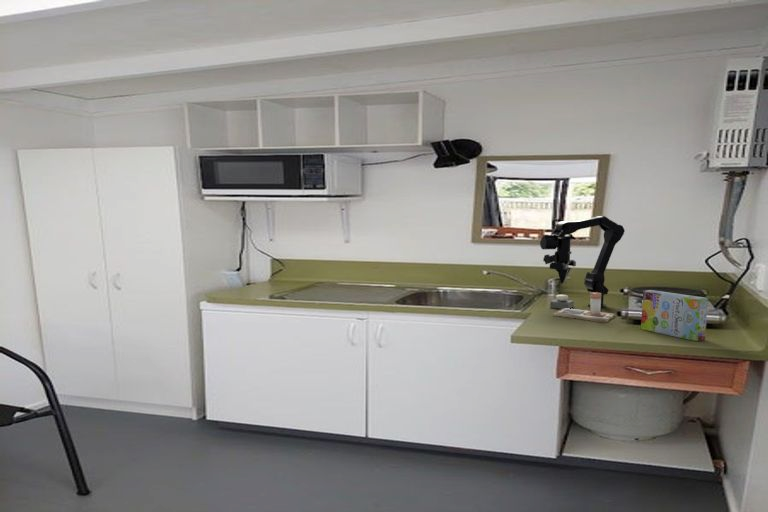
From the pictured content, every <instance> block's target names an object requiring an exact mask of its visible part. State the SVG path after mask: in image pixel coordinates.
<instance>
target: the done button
mask: <svg viewBox="0 0 768 512" xmlns="http://www.w3.org/2000/svg"><path fill="white" fill-rule="evenodd" d="M555 299H556V300H559V301H561V302H564V301H567V300H569V296H568V295H567V294H556V298H555Z"/></svg>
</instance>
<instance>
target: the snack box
mask: <svg viewBox="0 0 768 512" xmlns="http://www.w3.org/2000/svg"><path fill="white" fill-rule="evenodd" d="M642 294H643V300H642V312H641V321H640V323H641V324H640V329H641V330H643V331H649V332H653V333H657V334H662V335H665V336H671V337H675V338H679V339H680V338H681V339H684V340H687V341H688V340H689V341H693V342H700V341H701V340H702V341H705V340H706V332H707V331H706V330H707V317H708V316H707V315H708V303H709V301H708V300H709V297H703V296H697V295H696V296H695V295H689V294H682V293H675V292H668V291H661V290H653V289H648V290H643V291H642Z"/></svg>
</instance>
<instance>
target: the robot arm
mask: <svg viewBox="0 0 768 512" xmlns="http://www.w3.org/2000/svg"><path fill="white" fill-rule="evenodd" d="M597 226H599V228H600V229H601V230H602V231H603V239H604V241H603V244H602V247H601V249H600V252H599V254H598V257H597V259H596V262H595V264H594V267H593V269H592V270H591V271H590V272H589V271H587V272H586V274H585V277H584V279H583V281H584V282H583V284H584V286H585V288H586V290H587V292H588V293H591V292H598V293H601V308H604V307H606V304H604V303H605V295H608V293H609V288H608V287H606V285H605V272H606V269H607V267H608V264H609V261H610V259H611V256H612V254H613V251H614V249H615V246H616V245H617V244H618V243H619V241H621V239H622V238H623V236H624V234H625V229H624V226H623V225H621V224H618V223H617V222H615V221H613V220H612V219H609V218H608V217H607V216H605V215H603V216H602V215H597V216H593V217H591V218H590V217H589V218H585V219H579V220H575V221H573V220H572V221H559V222H557V224H556V226H555V228H554V230H553V231H552V233H551V234H542V237H541V239H540V241H539V245H540V248H541V250H555V251H554V254H553V255H550V254H544V257H543V260H542V261H543V262H544V264H545V265H549V269H550V270H555V271H556V272H557V273H558V277H559V280H560V283H561V284H564V283H565V282H566V280H567V277H568V276H569V274H570V272H571V270H572V267H576V265H577V262H576V261H575V260H574V259H571V254H572V253H573V252H572V251H571V240H576V237H575V236H573V234H575V233H576V232H578V231H579V230H583V229H588V228H593V227H597ZM569 266H572V267H569ZM590 302H591V299H590ZM587 306H588V307H590V303H589V304H588V305H587Z"/></svg>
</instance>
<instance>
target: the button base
mask: <svg viewBox="0 0 768 512" xmlns="http://www.w3.org/2000/svg"><path fill="white" fill-rule="evenodd" d="M574 302H575V300H569V299H568V300H567V301H564V302H561V301H559V300H556V298H555V299H553V300H550V305H549V307H552V308H551V309H556V308H559V309H558V310H562V309H564V308H571V309H573V308H574ZM572 307H573V308H572Z"/></svg>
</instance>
